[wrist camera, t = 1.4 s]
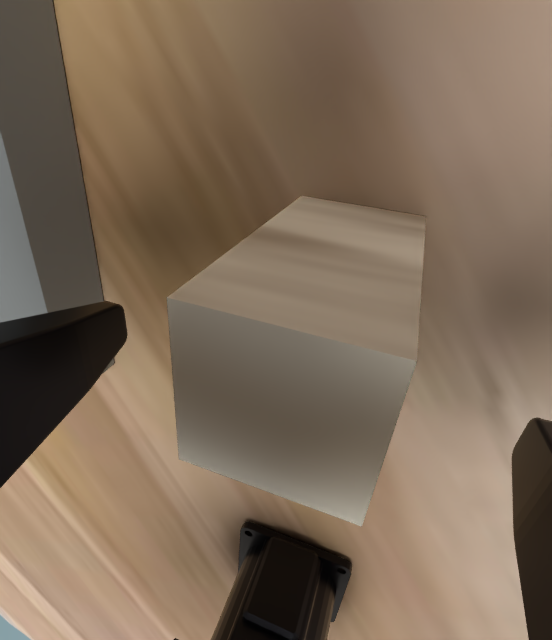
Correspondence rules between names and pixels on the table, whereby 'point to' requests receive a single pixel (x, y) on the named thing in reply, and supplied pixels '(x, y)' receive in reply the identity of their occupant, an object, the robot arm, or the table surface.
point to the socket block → (40, 173)
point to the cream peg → (301, 352)
